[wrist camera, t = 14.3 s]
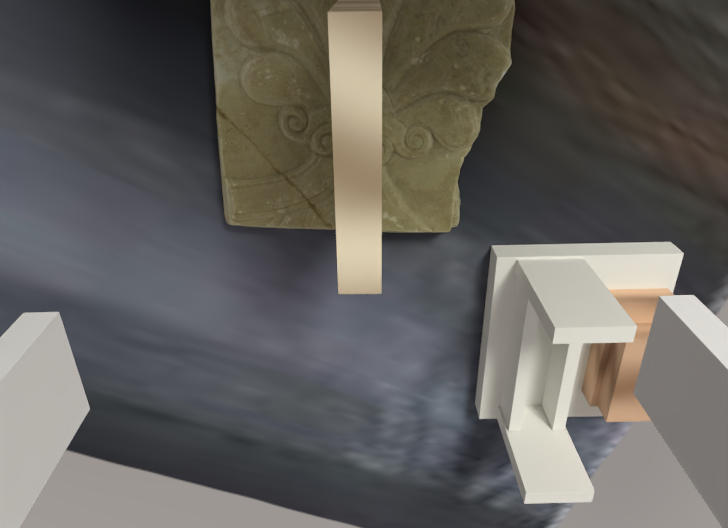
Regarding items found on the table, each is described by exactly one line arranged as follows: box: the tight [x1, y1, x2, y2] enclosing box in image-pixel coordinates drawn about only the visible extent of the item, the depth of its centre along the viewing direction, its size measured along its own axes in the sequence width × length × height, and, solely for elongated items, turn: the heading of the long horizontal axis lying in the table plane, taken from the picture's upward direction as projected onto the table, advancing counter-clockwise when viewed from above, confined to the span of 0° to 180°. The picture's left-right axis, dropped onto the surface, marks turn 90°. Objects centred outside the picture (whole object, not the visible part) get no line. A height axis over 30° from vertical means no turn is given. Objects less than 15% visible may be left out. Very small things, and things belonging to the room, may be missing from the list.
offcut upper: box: [597, 323, 652, 422], centre depth 44 cm, size 8×4×2 cm, turn 1°
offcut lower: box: [581, 288, 675, 407], centre depth 45 cm, size 10×5×2 cm, turn 1°
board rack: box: [475, 242, 684, 504], centre depth 43 cm, size 16×14×11 cm
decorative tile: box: [210, 0, 515, 233], centre depth 37 cm, size 19×20×4 cm
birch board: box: [328, 0, 382, 294], centre depth 30 cm, size 12×2×14 cm, turn 1°
